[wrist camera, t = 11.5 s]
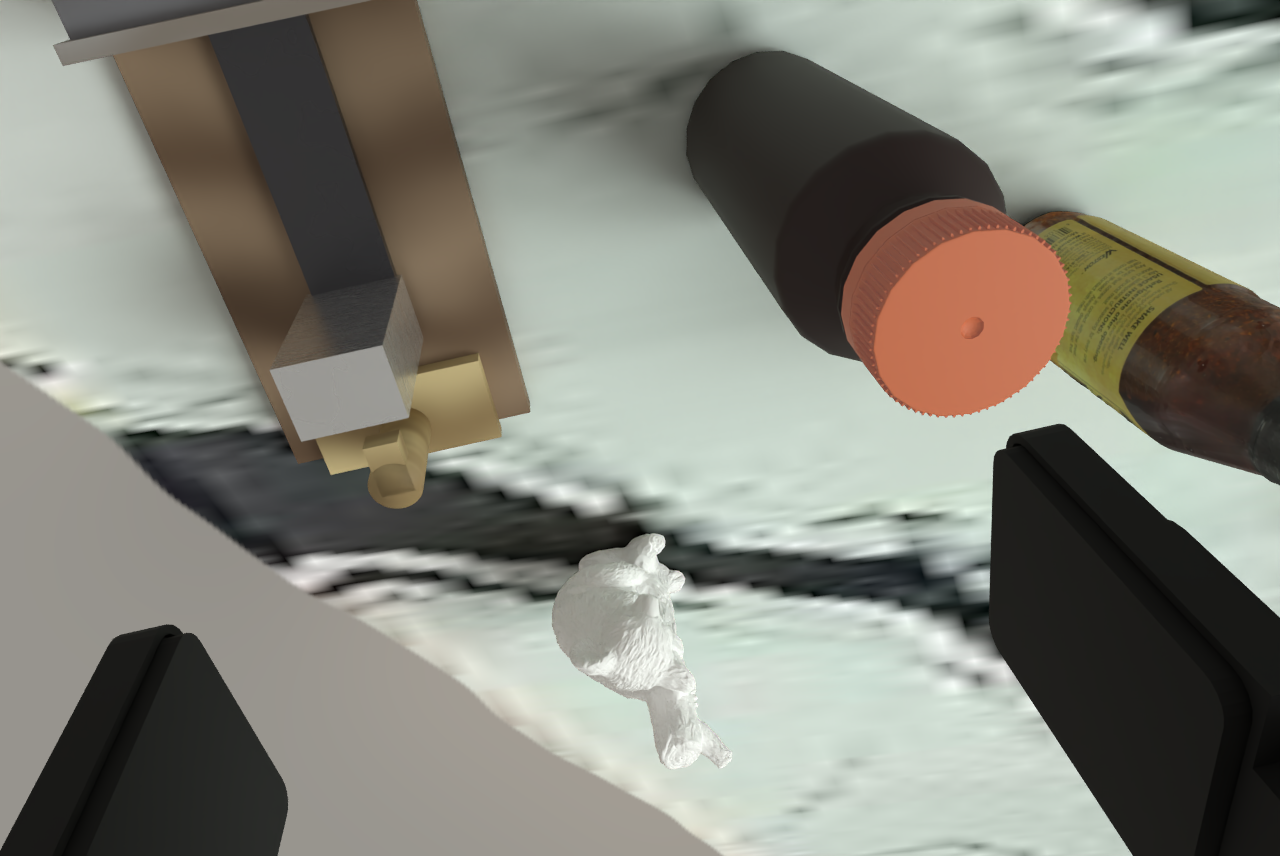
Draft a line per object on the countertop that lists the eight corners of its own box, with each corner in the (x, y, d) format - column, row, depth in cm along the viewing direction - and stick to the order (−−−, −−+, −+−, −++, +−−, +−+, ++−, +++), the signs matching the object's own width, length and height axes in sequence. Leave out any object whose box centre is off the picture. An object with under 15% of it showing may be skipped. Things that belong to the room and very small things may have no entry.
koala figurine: (722, 566, 50) (778, 740, 40) (635, 638, 52) (668, 822, 41) (612, 483, 46) (642, 650, 36) (523, 564, 48) (529, 745, 38)
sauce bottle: (978, 337, 45) (1270, 608, 28) (987, 214, 41) (1325, 435, 24) (1106, 316, 45) (1472, 571, 28) (1125, 192, 42) (1553, 394, 25)
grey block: (200, 22, 32) (128, 52, 26) (310, -1, 32) (264, 23, 26) (333, 355, 39) (301, 441, 33) (423, 335, 39) (408, 417, 33)
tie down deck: (-9, -244, 29) (-132, -277, 23) (328, -313, 29) (287, -363, 24) (306, 461, 43) (276, 545, 38) (532, 410, 44) (536, 487, 38)
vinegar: (650, 140, 38) (771, 342, 21) (769, 10, 36) (1011, 115, 19) (757, 244, 41) (940, 497, 24) (872, 129, 39) (1164, 314, 22)
